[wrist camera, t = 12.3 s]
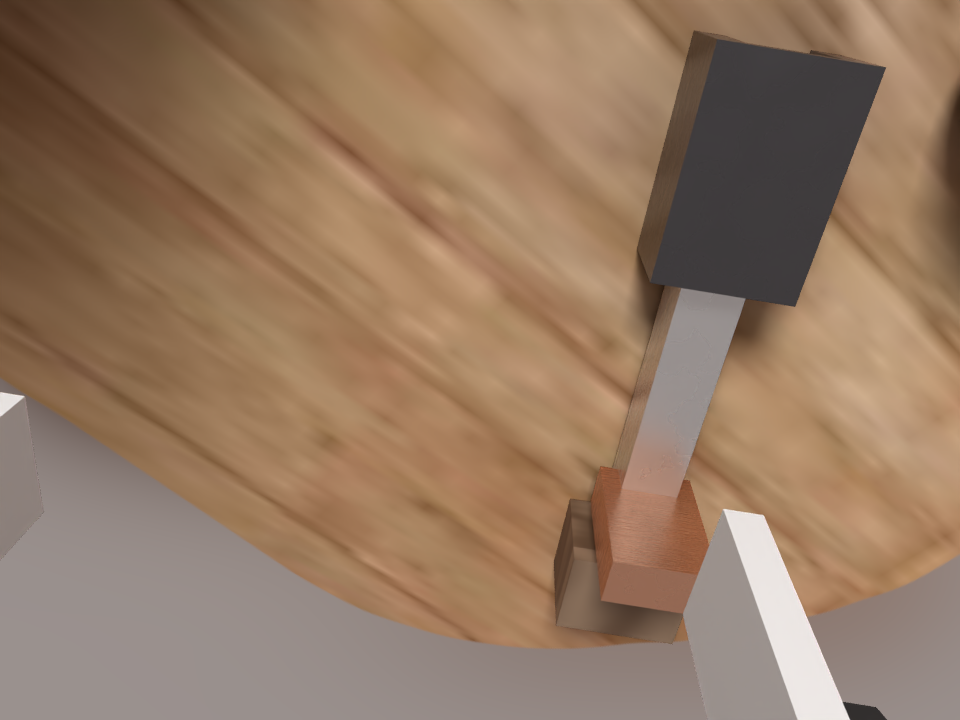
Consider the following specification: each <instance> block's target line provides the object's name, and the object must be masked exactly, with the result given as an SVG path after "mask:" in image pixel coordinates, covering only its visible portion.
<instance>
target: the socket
mask: <svg viewBox="0 0 960 720" xmlns="http://www.w3.org/2000/svg"><path fill="white" fill-rule="evenodd" d="M554 577H555V608H556V626H562V627H568V628H575V629H581V630H587V631H593V632H600V633H606V634H612V635H619V636H625V637H631V638H637V639H644V640H650V641H656V642H663V643H669V644H672V643H673V641H674V638H675V636H676V633H677V630H678V628H679V625H680V623H681V620H682V617H683V614H682V613H675V612H669V611H663V610H657V609H650V608H644V607H638V606H632V605H625V604H619V603H613V602H606V601H601V595H600V586H599V577H598V567H597V558H596V548H595V539H594V529H593V520H592V511H591V502H587V501H581V500H575V499H570V502H569V506H568V509H567V513H566V517H565V521H564V525H563V529H562V532H561V536H560V540H559V544H558V548H557V552H556V556H555V559H554Z"/></svg>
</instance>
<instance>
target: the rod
mask: <svg viewBox="0 0 960 720" xmlns="http://www.w3.org/2000/svg"><path fill="white" fill-rule="evenodd" d="M744 302H745V298H739V297H733V296H727V295H721V294H715V293H709V292H702V291H696V290H690V289H684V288H678V287H672V286H666V285H665V287H664V291H663V294H662V298H661V301H660V305H659V308H658V312H657V315H656V319H655V322H654V325H653V329H652V332H651V336H650V339H649V343H648V346H647V350H646V353H645V357H644V360H643V364H642V367H641V371H640V374H639V378H638V381H637V385H636V388H635V392H634V395H633V399H632V402H631V406H630V409H629V413H628V416H627V420H626V423H625V427H624V430H623V434H622V437H621V441H620V444H619V448H618V451H617V455H616V458H615V462H614V465H613V468H608V467H602V466H600V470H599V473H598V477H597V480H596V484H595V488H594V491H593V495H592V498H591V511H592V520H593V529H594V539H595V548H596V558H597V567H598V577H599V586H600V595H601V601H606V602H613V603H619V604H625V605H632V606H638V607H644V608H650V609H657V610H663V611H669V612H675V613H682V614H683V612H684V610H685V607H686V605H687V602H688V599H689V597H690V594H691V592H692V589H693V586H694V584H695V581H696V579H697V576H698V573H699V571H700V568H701V566H702V563H703V560H704V558H705V555H706V553H707V550H708V547H709V543H708V540H707V536H706V533H705V530H704V526H703V523H702V520H701V517H700V513H699V510H698V507H697V503H696V500H695V497H694V494H693V490H692V487H691V484H690V481H688V480H683V479H684V476H685V473H686V470H687V468H688V465H689V462H690V459H691V456H692V453H693V450H694V447H695V444H696V441H697V439H698V436H699V433H700V430H701V427H702V424H703V421H704V418H705V415H706V412H707V409H708V407H709V404H710V401H711V398H712V395H713V392H714V389H715V386H716V383H717V380H718V378H719V375H720V372H721V369H722V366H723V363H724V360H725V357H726V354H727V351H728V349H729V346H730V343H731V340H732V337H733V334H734V331H735V328H736V325H737V322H738V320H739V317H740V314H741V311H742V308H743V305H744Z"/></svg>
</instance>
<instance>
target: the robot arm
mask: <svg viewBox="0 0 960 720" xmlns="http://www.w3.org/2000/svg"><path fill="white" fill-rule="evenodd" d="M43 512H44V511H43V505H42V498H41V492H40V486H39V479H38V473H37V467H36V461H35V455H34V449H33V443H32V436H31V430H30V424H29V418H28V412H27V405H26V399H25V396H20V395H14V394H8V393H2V392H0V560H1V559H2V558H3V557H4V555H5V554H6V553H7V552H8V551H9V550H10V549H11V548H12V547H13V546H14V544H15V543H16V542H17V541H18V540H19V539H20V538H21V537H22V536H23V534H24V533H25V532H26V531H27V530H28V529H29V528H30V527H31V526H32V525H33V524H34V522H35V521H36V520H37V519H38V518H39V517H40V516H41V515H42V514H43ZM683 617H684V621H685V626H686V630H687V634H688V639H689V643H690V647H691V652H692V656H693V660H694V665H695V669H696V673H697V677H698V682H699V686H700V690H701V695H702V699H703V704H704V708H705V712H706V717H707V720H887V719H886V718H885V717H884V716H883V715H882V713H881V712H880V711H879V710H878V709H877V708H876V707H871V706H865V705H859V704H852V703H846V702H842V700H841V698H840V695H839V693H838V690H837V688H836V686H835V683H834V681H833V679H832V676H831V674H830V671H829V669H828V667H827V665H826V662H825V660H824V658H823V655H822V653H821V650H820V648H819V646H818V643H817V641H816V638H815V636H814V634H813V631H812V629H811V626H810V624H809V622H808V619H807V617H806V615H805V612H804V610H803V607H802V605H801V603H800V600H799V598H798V596H797V593H796V591H795V589H794V586H793V584H792V581H791V579H790V577H789V574H788V572H787V570H786V567H785V565H784V562H783V560H782V558H781V555H780V553H779V551H778V548H777V546H776V544H775V541H774V539H773V536H772V534H771V532H770V529H769V527H768V525H767V522H766V520H765V517H764V515H758V514H752V513H746V512H739V511H733V510H727V509H723V511H722V514H721V516H720V519H719V521H718V524H717V527H716V529H715V532H714V534H713V537H712V540H711V542H710V545H709V547H708V550H707V553H706V555H705V558H704V560H703V563H702V566H701V568H700V571H699V573H698V576H697V579H696V581H695V584H694V586H693V589H692V592H691V594H690V597H689V599H688V602H687V605H686V607H685V610H684V612H683Z"/></svg>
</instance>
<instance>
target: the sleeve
mask: <svg viewBox="0 0 960 720" xmlns="http://www.w3.org/2000/svg"><path fill="white" fill-rule="evenodd" d="M885 69H886V67H882V66H879V65H875V64H871V63H868V62H864V61H860V60H856V59H853V58H849V57H845V56H842V55H836V54H830V53H824V52H818V51H812V50H811V52H810V54H808V53H802V52H797V51H791V50H785V49H779V48H773V47H767V46H761V45H755V44H749V43H745V42H742V41H739V40H736V39H733V38H730V37H727V36H723V35H717V34H711V33H705V32H700V31H694V32H693V36H692V40H691V43H690V47H689V51H688V55H687V59H686V63H685V66H684V70H683V74H682V78H681V82H680V86H679V89H678V93H677V97H676V101H675V105H674V109H673V112H672V116H671V120H670V124H669V128H668V132H667V135H666V139H665V143H664V147H663V151H662V155H661V158H660V162H659V166H658V170H657V174H656V178H655V181H654V185H653V189H652V193H651V197H650V201H649V204H648V208H647V212H646V216H645V220H644V224H643V227H642V231H641V235H640V239H639V243H638V247H637V249H638V252H639V255H640V257H641V260H642V263H643V265H644V268H645V271H646V273H647V276H648V279H649V281H650V283H654V284H660V285H666V286H672V287H678V288H684V289H690V290H696V291H702V292H709V293H715V294H721V295H727V296H733V297H739V298H745V299H751V300H757V301H763V302H769V303H775V304H781V305H788V306H794V307H795V305H796V303H797V300H798V298H799V295H800V292H801V290H802V287H803V284H804V282H805V279H806V277H807V274H808V271H809V269H810V266H811V263H812V261H813V258H814V256H815V253H816V250H817V248H818V245H819V242H820V240H821V237H822V235H823V232H824V229H825V227H826V224H827V221H828V219H829V216H830V214H831V211H832V208H833V206H834V203H835V200H836V198H837V195H838V192H839V190H840V187H841V185H842V182H843V179H844V177H845V174H846V171H847V169H848V166H849V164H850V161H851V158H852V156H853V153H854V150H855V148H856V145H857V143H858V140H859V137H860V135H861V132H862V129H863V127H864V124H865V122H866V119H867V116H868V114H869V111H870V108H871V106H872V103H873V101H874V98H875V95H876V93H877V90H878V87H879V85H880V82H881V80H882V77H883V74H884V72H885Z"/></svg>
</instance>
